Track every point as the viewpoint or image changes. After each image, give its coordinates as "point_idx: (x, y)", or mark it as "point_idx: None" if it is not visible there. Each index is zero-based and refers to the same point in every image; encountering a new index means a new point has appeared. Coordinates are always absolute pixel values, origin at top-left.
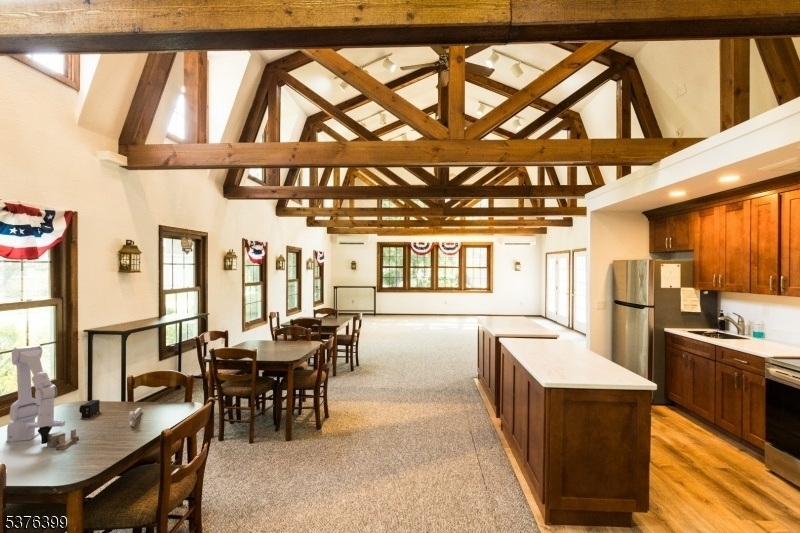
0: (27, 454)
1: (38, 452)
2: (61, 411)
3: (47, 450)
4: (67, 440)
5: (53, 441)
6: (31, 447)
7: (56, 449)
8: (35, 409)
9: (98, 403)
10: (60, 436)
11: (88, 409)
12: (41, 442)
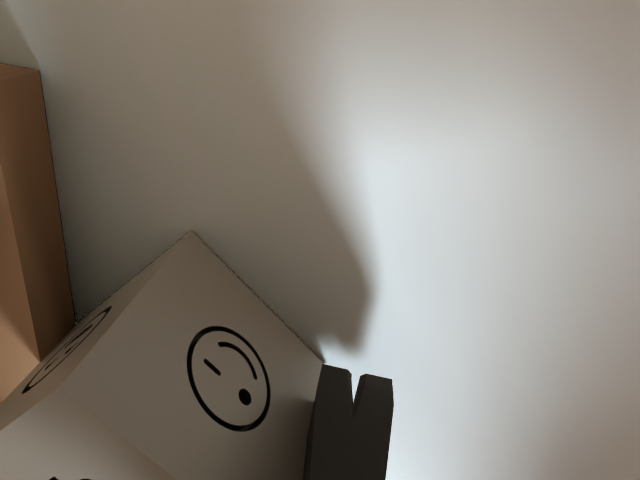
0: (553, 15)
1: (345, 61)
2: None
3: (209, 118)
4: (3, 351)
5: (121, 306)
6: (554, 389)
7: (30, 70)
8: None
9: None
10: (2, 412)
11: None
12: (388, 396)
